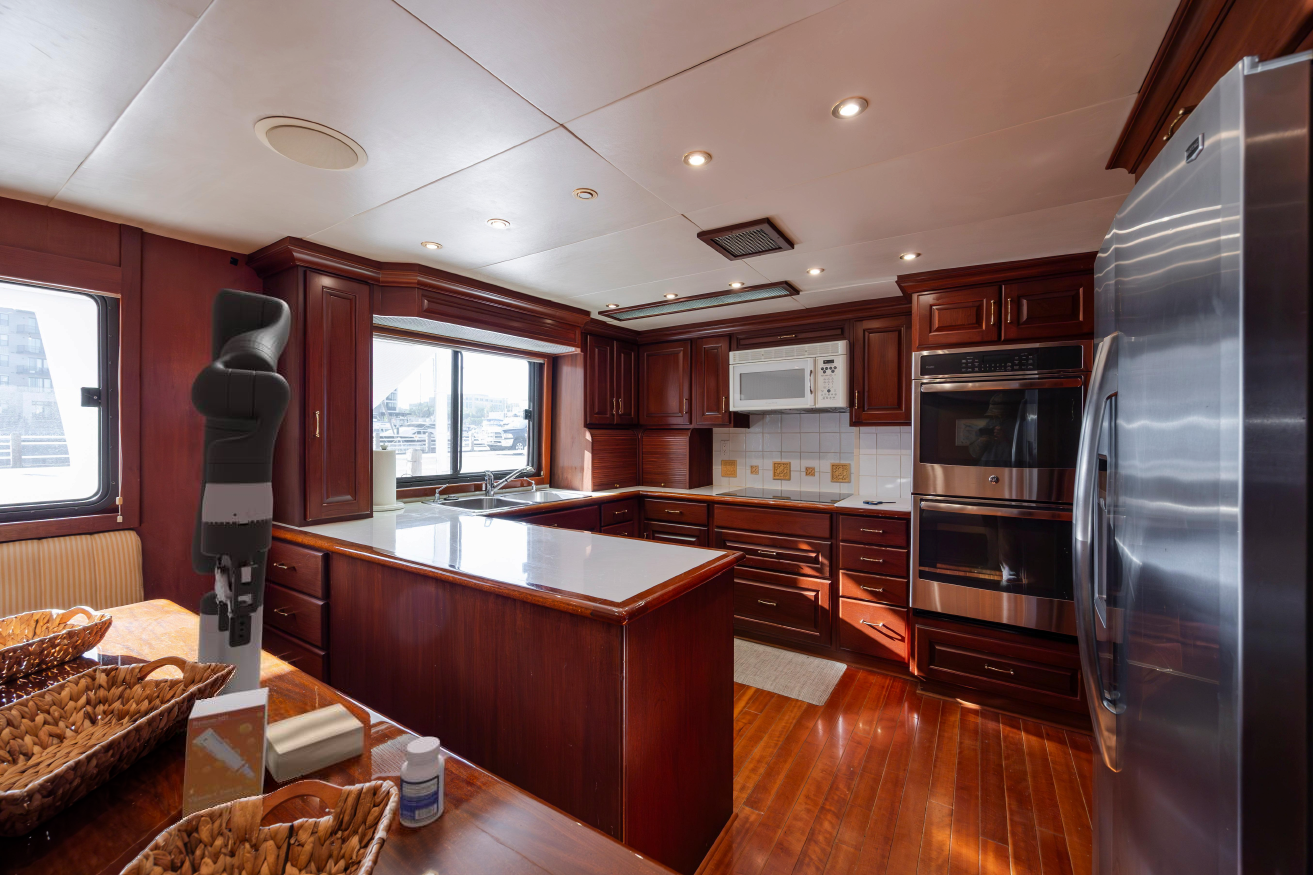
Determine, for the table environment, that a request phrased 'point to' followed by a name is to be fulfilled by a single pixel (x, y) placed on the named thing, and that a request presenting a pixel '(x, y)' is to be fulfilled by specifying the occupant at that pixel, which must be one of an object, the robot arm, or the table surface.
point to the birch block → (312, 742)
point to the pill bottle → (422, 783)
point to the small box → (225, 749)
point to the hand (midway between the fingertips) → (233, 637)
